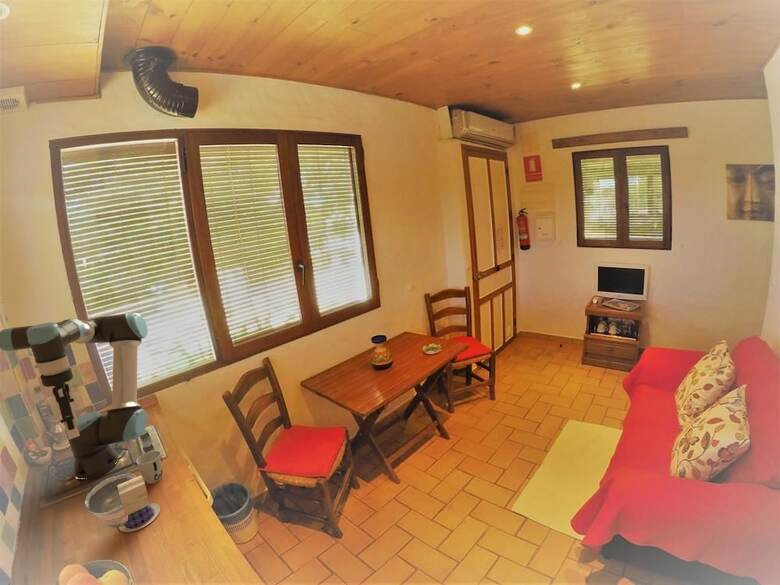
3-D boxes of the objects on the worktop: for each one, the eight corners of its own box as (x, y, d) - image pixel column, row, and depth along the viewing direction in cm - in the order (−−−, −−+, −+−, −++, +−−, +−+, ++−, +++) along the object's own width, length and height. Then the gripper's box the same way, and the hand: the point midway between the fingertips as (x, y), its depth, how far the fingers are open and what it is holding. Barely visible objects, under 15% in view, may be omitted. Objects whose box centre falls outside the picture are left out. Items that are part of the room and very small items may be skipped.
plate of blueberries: (154, 499, 137) (151, 487, 135) (165, 516, 129) (162, 503, 127) (115, 521, 128) (111, 508, 127) (124, 540, 120) (120, 527, 119)
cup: (158, 486, 143) (152, 463, 141) (137, 487, 143) (131, 464, 141) (170, 471, 151) (165, 449, 148) (150, 472, 151) (145, 450, 149)
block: (122, 506, 127) (117, 485, 126) (146, 495, 132) (141, 474, 131) (125, 516, 122) (119, 494, 121) (149, 504, 127) (144, 483, 125)
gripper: (40, 364, 127) (57, 419, 132) (39, 387, 109) (59, 450, 114) (68, 357, 132) (84, 410, 137) (72, 378, 114) (90, 439, 119)
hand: (73, 429), depth 125 cm, fingers open, 13 cm apart
